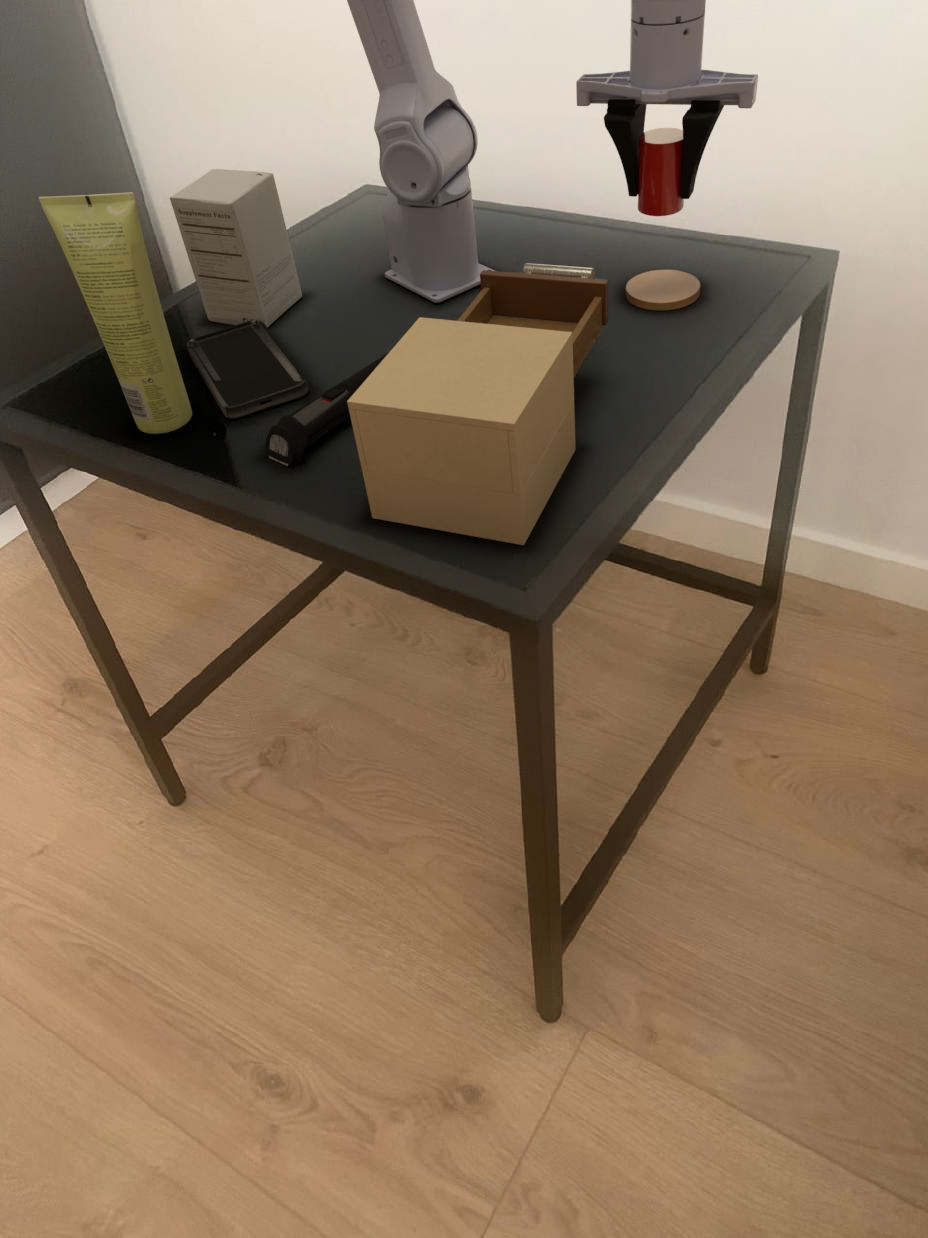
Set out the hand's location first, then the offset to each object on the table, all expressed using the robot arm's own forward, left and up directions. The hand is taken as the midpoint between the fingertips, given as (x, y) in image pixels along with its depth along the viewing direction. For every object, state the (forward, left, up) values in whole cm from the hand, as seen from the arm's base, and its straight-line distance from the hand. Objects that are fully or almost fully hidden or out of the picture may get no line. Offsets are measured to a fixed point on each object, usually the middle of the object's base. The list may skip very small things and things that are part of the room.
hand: (660, 193), depth 84 cm
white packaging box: (-29, -28, -10) cm, 42 cm away
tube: (-16, -44, -10) cm, 48 cm away
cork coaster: (0, +1, -10) cm, 10 cm away
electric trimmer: (-5, -33, -10) cm, 35 cm away
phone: (-18, -35, -10) cm, 41 cm away
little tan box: (+11, -30, -10) cm, 34 cm away
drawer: (+4, -19, -5) cm, 20 cm away
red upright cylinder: (0, 0, -1) cm, 1 cm away
